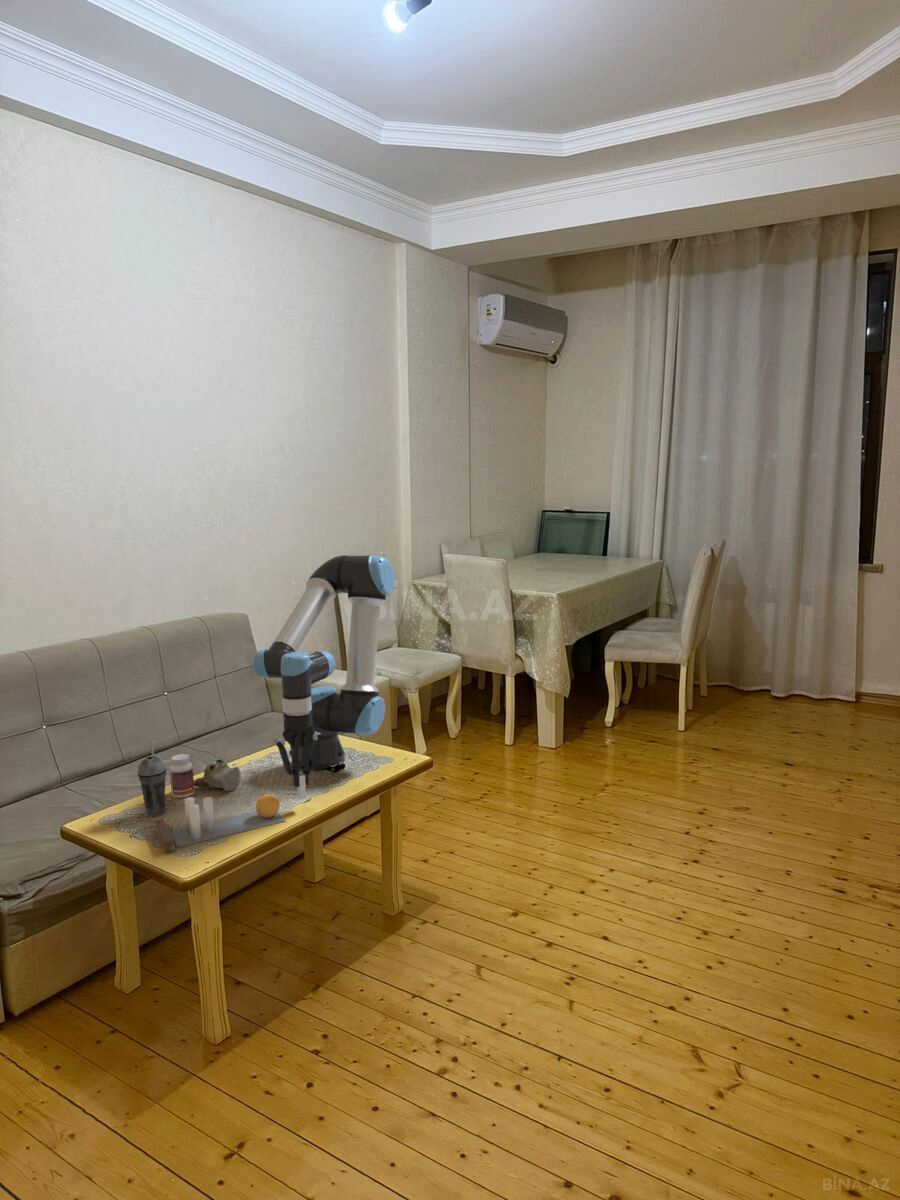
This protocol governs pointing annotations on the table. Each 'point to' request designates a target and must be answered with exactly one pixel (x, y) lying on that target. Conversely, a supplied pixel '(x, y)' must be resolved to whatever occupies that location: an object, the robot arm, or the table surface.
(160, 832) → the back wall
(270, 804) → the ball
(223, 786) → the ceramic sculpture
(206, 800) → the front pin
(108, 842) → the table surface
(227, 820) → the lane mat
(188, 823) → the back pin right
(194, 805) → the back pin left
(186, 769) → the pill bottle
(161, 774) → the beverage cup
